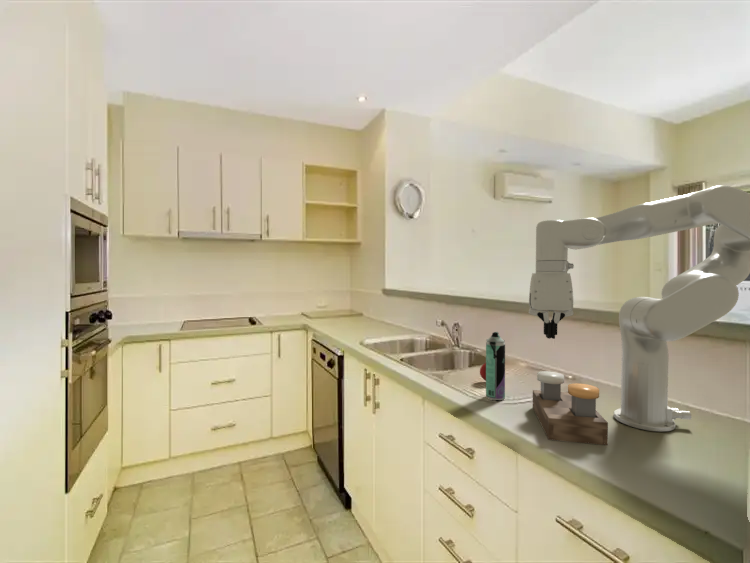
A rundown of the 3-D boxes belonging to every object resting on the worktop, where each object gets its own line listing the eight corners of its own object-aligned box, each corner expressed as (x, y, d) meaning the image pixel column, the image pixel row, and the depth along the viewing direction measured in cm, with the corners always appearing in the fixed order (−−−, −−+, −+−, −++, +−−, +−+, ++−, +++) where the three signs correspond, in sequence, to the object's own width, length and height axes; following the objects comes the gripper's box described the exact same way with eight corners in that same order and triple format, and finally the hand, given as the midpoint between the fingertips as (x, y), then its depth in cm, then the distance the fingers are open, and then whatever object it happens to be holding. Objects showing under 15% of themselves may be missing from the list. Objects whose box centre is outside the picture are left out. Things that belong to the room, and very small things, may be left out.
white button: (560, 396, 100) (560, 371, 99) (566, 404, 93) (567, 378, 93) (535, 394, 101) (535, 370, 101) (539, 402, 95) (539, 377, 95)
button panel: (579, 411, 100) (579, 393, 100) (607, 445, 81) (607, 422, 81) (532, 407, 103) (532, 390, 103) (548, 439, 84) (548, 418, 83)
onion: (497, 381, 128) (497, 358, 128) (497, 386, 122) (497, 362, 122) (479, 379, 130) (479, 357, 129) (479, 384, 124) (479, 361, 124)
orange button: (593, 411, 89) (593, 384, 89) (603, 422, 83) (603, 393, 82) (564, 409, 90) (564, 382, 90) (572, 420, 84) (572, 390, 84)
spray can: (506, 401, 108) (506, 333, 107) (486, 400, 109) (486, 333, 108) (503, 395, 113) (503, 330, 113) (485, 394, 114) (485, 330, 114)
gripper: (578, 268, 98) (577, 336, 99) (518, 268, 102) (518, 334, 102) (587, 267, 91) (586, 341, 91) (523, 268, 94) (522, 339, 95)
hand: (550, 337), depth 97 cm, fingers closed
